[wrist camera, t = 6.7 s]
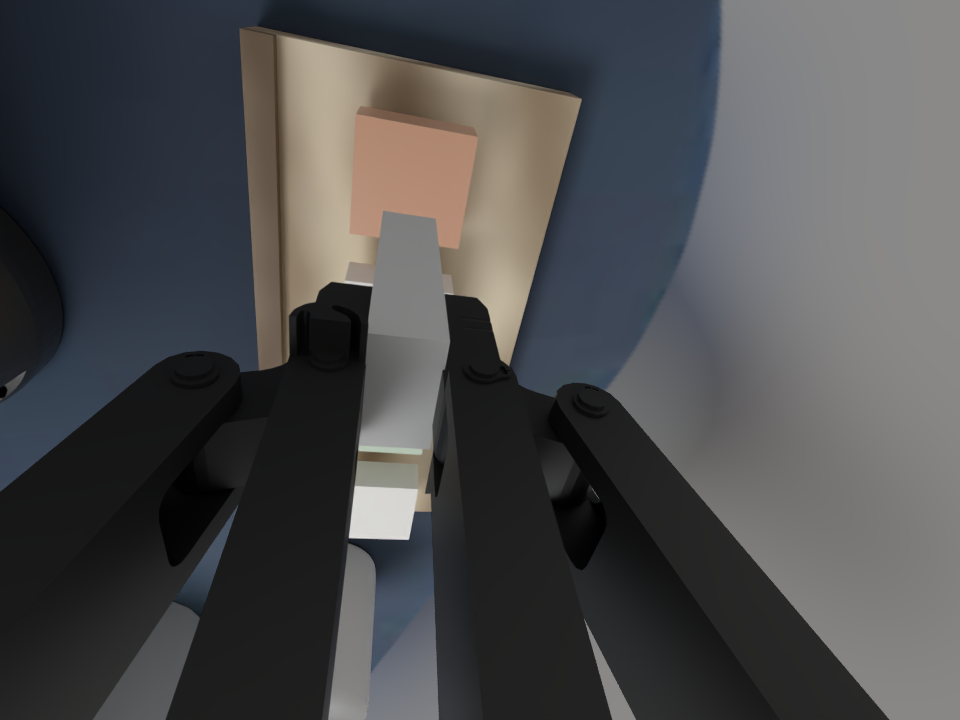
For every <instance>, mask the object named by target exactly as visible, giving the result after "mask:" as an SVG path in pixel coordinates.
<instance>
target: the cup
mask: <svg viewBox="0 0 960 720" xmlns="http://www.w3.org/2000/svg"><path fill="white" fill-rule="evenodd" d="M199 620H200V618H199V617H198V616H197V615H196V614H195V613H194V612H193V611H192V610H191V609H190V608H188V607H185V606H183V605H180V604H178V603H175V602H172V603H171V605H170V606H169V608H168V609H167V611H166V612H165V614H164V615H163V617H162V618H161V620H160V621H159V623H158V624H157V625H156V627H155V628H154V630H153V631H152V633H151V634H150V636H149V637H148V639H147V640H146V642H145V643H144V645H143V646H142V648H141V649H140V651H139V652H138V654H137V655H136V657H135V658H134V659H133V661H132V662H131V664H130V665H129V667H128V668H127V670H126V671H125V673H124V674H123V676H122V677H121V679H120V680H119V682H118V683H117V685H116V686H115V688H114V689H113V691H112V692H111V693H110V695H109V696H108V698H107V699H106V701H105V702H104V704H103V705H102V707H101V708H100V710H99V711H98V713H97V714H96V716H95V717H94V719H93V720H166V717H167V714H168V711H169V708H170V705H171V702H172V699H173V696H174V693H175V690H176V687H177V684H178V681H179V678H180V676H181V673H182V670H183V667H184V664H185V661H186V658H187V655H188V652H189V649H190V646H191V643H192V640H193V637H194V634H195V632H196V629H197V626H198V623H199Z"/></svg>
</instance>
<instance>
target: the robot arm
mask: <svg viewBox="0 0 960 720" xmlns="http://www.w3.org/2000/svg"><path fill="white" fill-rule="evenodd" d="M62 326H63V315H62V306H61V301H60V297H59V293H58V290H57V287H56V284H55V282H54V280H53V277H52V275H51V273H50V271H49V269H48V267H47V265H46V263H45V262H44V260H43V258H42V257H41V255H40V253H39V252H38V251H37V249H36V248H35V246H34V245H33V243H32V242H31V241H30V239H29V238H28V237H27V236H26V234H25V233H24V232H23V231H22V230H21V228H20V227H19V226H18V225H17V224H16V223H15V222H14V221H13V220H12V219H11V218H10V217H9V215H8V214H7V213H6V212H5V211H4V210H3V209H1V208H0V403H1V402H3V401H5V400H6V399H8V398H9V397H11V396H12V395H14V394H15V393H17V392H18V391H19V390H20V389H21V388H23V387H24V386H25V385H26V384H27V383H28V382H29V381H30V380H31V379H32V378H33V377H34V376H35V375H36V374H37V373H38V372H39V371H40V370H41V369H42V368H43V367H44V366H45V365H46V364H47V363H48V362H49V361H50V359H51V358H52V356H53V355H54V353H55V351H56V349H57V347H58V345H59V342H60V338H61V334H62ZM432 435H433V454H432V459H431V464H430V469H429V475H428V480H427V485H426V490H425V494H430V493H431V515H432V542H433V569H434V597H435V624H436V649H437V650H436V651H437V677H438V704H439V720H612V718H611V714H610V710H609V707H608V703H607V700H606V696H605V692H604V689H603V685H602V682H601V678H600V675H599V671H598V667H597V664H596V660H595V657H594V653H593V649H592V646H591V642H590V639H589V635H588V631H587V628H586V624H585V621H586V623H587V625H588V627H589V629H590V630H591V632H592V634H593V636H594V638H595V640H596V642H597V644H598V646H599V648H600V650H601V652H602V654H603V656H604V658H605V660H606V662H607V664H608V666H609V668H610V669H611V671H612V673H613V675H614V677H615V679H616V681H617V683H618V685H619V687H620V689H621V691H622V693H623V695H624V697H625V699H626V701H627V703H628V704H629V706H630V708H631V710H632V712H633V714H634V716H635V718H636V720H889V719H888V718H887V716H886V715H885V714H884V713H883V712H882V710H881V709H880V708H879V707H878V706H877V705H876V703H875V702H874V701H873V700H872V699H871V698H870V697H869V695H868V694H867V693H866V692H865V691H864V689H863V688H862V687H861V686H860V685H859V683H858V682H857V681H856V680H855V679H854V678H853V676H852V675H851V674H850V673H849V672H848V671H847V670H846V668H845V667H844V666H843V665H842V663H841V662H840V661H839V660H838V659H837V658H836V657H835V656H834V654H833V653H832V652H831V650H830V649H829V648H828V647H827V646H826V645H825V644H824V642H823V641H822V640H821V639H820V638H819V636H818V635H817V634H816V633H815V632H814V630H813V629H812V628H811V627H810V626H809V625H808V623H807V622H806V621H805V620H804V619H803V618H802V616H801V615H800V614H799V613H798V612H797V610H795V608H794V607H793V606H792V605H791V604H790V602H789V601H788V600H787V599H786V598H785V596H784V595H783V594H782V593H781V592H780V590H779V589H778V588H777V587H776V586H775V585H774V583H773V582H772V581H771V580H770V579H769V578H768V576H767V575H766V574H765V573H764V572H763V570H762V569H761V568H760V567H759V566H758V565H757V563H756V562H755V561H754V560H753V559H752V558H751V556H750V555H749V554H748V553H747V552H746V551H745V549H744V548H743V547H742V546H741V545H740V544H739V543H738V541H737V540H736V539H735V538H734V536H733V535H732V534H731V533H730V532H729V530H728V529H727V528H726V527H725V526H724V525H723V523H722V522H721V521H720V520H719V519H718V518H717V516H716V515H715V514H714V513H713V512H712V511H711V509H710V508H709V507H708V506H707V505H706V503H705V502H704V501H703V500H702V499H701V498H700V496H699V495H698V494H697V493H696V492H695V490H694V489H693V488H692V487H691V486H690V485H689V483H688V482H687V481H686V480H685V479H684V478H683V476H682V475H681V474H680V473H679V472H678V470H677V469H676V468H675V467H674V466H673V465H672V463H671V462H670V461H669V460H668V459H667V458H666V456H665V455H664V454H663V453H662V452H661V451H660V449H659V448H658V447H657V446H656V445H655V443H654V442H653V441H652V440H651V439H650V438H649V436H647V434H646V433H645V432H644V431H643V429H642V428H641V427H640V426H639V425H638V424H637V422H636V421H635V420H634V419H633V418H632V416H631V415H630V414H629V413H628V412H627V411H626V409H625V408H624V407H623V406H622V405H621V403H620V402H619V401H618V400H617V399H615V398H614V397H613V396H612V395H611V394H610V393H608V392H606V391H604V390H602V389H600V388H599V387H596V386H592V385H589V384H584V383H571V384H566V385H563V386H562V387H561V388H560V389H559V390H557V393H556V396H555V398H554V397H550V396H547V395H544V394H540V393H537V392H534V391H531V390H529V389H526V388H524V387H522V386H520V385H519V384H518V381H517V377H516V375H515V373H514V372H513V370H512V368H511V367H509V366H508V365H507V364H506V363H504V362H503V361H501V360H500V356H499V352H498V348H497V344H496V340H495V336H494V332H493V328H492V324H491V322H490V316H489V312H488V309H487V308H486V307H485V305H484V304H483V303H482V302H481V301H480V300H479V299H478V298H475V297H467V296H459V295H451V294H444V285H443V276H442V268H441V259H440V251H439V242H438V234H437V225H436V219H435V218H428V217H422V216H415V215H408V214H402V213H395V212H388V211H383V215H382V222H381V229H380V237H379V244H378V251H377V259H376V266H375V273H374V281H373V287H372V286H363V285H355V284H347V283H338V282H330V283H329V284H328V285H326V286H325V287H323V288H322V289H321V290H319V293H318V296H317V299H316V302H312V303H307V304H304V305H302V306H299V307H297V308H295V309H294V310H293V311H292V312H291V314H290V315H289V359H288V362H287V363H285V364H283V365H280V366H277V367H274V368H271V369H265V370H259V371H250V372H240V369H239V365H238V364H237V363H236V362H235V361H234V360H233V359H232V358H231V357H228V356H225V355H223V354H220V353H216V352H207V351H195V352H185V353H181V354H178V355H174V356H171V357H168V358H166V359H164V360H163V361H161V362H159V363H158V364H156V365H154V366H153V367H152V368H151V369H150V370H148V371H147V372H146V373H145V374H143V375H142V376H141V377H140V378H139V379H137V380H136V381H135V382H134V383H132V384H131V385H130V386H129V387H128V388H126V389H125V390H124V391H123V392H122V393H120V394H119V395H118V396H117V397H115V398H114V399H113V400H112V401H111V402H109V403H108V404H107V405H106V406H104V407H103V408H102V409H101V410H100V411H98V412H97V413H96V414H95V415H93V416H92V417H91V418H90V419H89V420H87V421H86V422H85V423H84V424H82V425H81V426H80V427H79V428H78V429H76V430H75V431H74V432H73V433H71V434H70V435H69V436H68V437H67V438H65V439H64V440H63V441H62V442H61V443H59V444H58V445H57V446H56V447H54V448H53V449H52V450H51V451H50V452H48V453H47V454H46V455H45V456H43V457H42V458H41V459H40V460H39V461H37V462H36V463H35V464H34V465H32V466H31V467H30V468H29V469H28V470H26V471H25V472H24V473H23V474H21V475H20V476H19V477H18V478H17V479H15V480H14V481H13V482H12V483H10V484H9V485H8V486H7V487H6V488H4V489H3V490H2V491H1V492H0V720H93V719H94V717H95V716H96V714H97V713H98V711H99V710H100V708H101V707H102V705H103V704H104V702H105V701H106V699H107V698H108V696H109V695H110V693H111V692H112V691H113V689H114V688H115V686H116V685H117V683H118V682H119V680H120V679H121V677H122V676H123V674H124V673H125V671H126V670H127V668H128V667H129V665H130V664H131V662H132V661H133V659H134V658H135V657H136V655H137V654H138V652H139V651H140V649H141V648H142V646H143V645H144V643H145V642H146V640H147V639H148V637H149V636H150V634H151V633H152V631H153V630H154V628H155V627H156V625H157V624H158V623H159V621H160V620H161V618H162V617H163V615H164V614H165V612H166V611H167V609H168V608H169V606H170V605H171V603H172V602H173V600H174V599H175V597H176V596H177V594H178V593H179V591H180V590H181V588H182V587H183V586H184V584H185V583H186V581H187V580H188V578H189V577H190V575H191V574H192V572H193V571H194V569H195V568H196V566H197V565H198V563H199V562H200V560H201V559H202V557H203V556H204V554H205V553H206V552H207V550H208V549H209V547H210V546H211V544H212V543H213V541H214V540H215V538H216V537H217V535H218V534H219V532H220V531H221V529H222V528H223V526H224V525H225V523H226V522H227V520H228V519H229V518H230V516H231V515H232V513H233V512H234V510H235V509H236V507H237V506H238V508H237V511H236V514H235V517H234V520H233V523H232V526H231V529H230V532H229V535H228V538H227V541H226V544H225V546H224V549H223V552H222V555H221V558H220V561H219V564H218V567H217V570H216V573H215V576H214V579H213V582H212V585H211V588H210V590H209V593H208V596H207V599H206V602H205V605H204V608H203V611H202V614H201V617H200V620H199V623H198V626H197V629H196V632H195V634H194V637H193V640H192V643H191V646H190V649H189V652H188V655H187V658H186V661H185V664H184V667H183V670H182V673H181V676H180V678H179V681H178V684H177V687H176V690H175V693H174V696H173V699H172V702H171V705H170V708H169V711H168V714H167V717H166V720H328V718H329V709H330V700H331V691H332V683H333V674H334V665H335V656H336V647H337V638H338V629H339V621H340V612H341V603H342V594H343V585H344V576H345V568H346V559H347V550H348V541H349V532H350V523H351V515H352V506H353V497H354V488H355V479H356V470H357V460H358V448H359V445H361V446H378V447H395V448H412V449H429V450H430V446H431V441H432ZM592 488H593V490H594V491H595V493H596V494H597V496H598V497H599V498H598V497H597V496H596V494H595V493H594V491H593V490H592ZM238 504H239V505H238ZM584 619H585V621H584Z"/></svg>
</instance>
